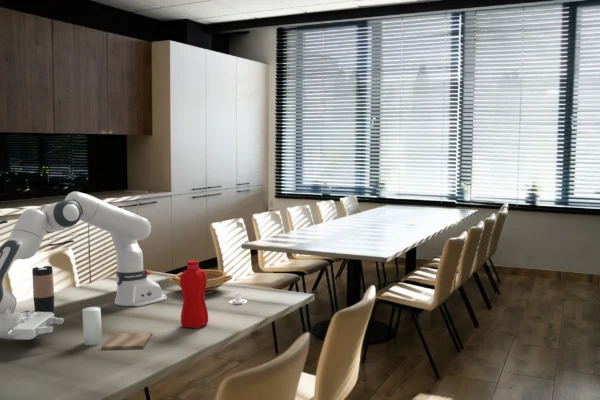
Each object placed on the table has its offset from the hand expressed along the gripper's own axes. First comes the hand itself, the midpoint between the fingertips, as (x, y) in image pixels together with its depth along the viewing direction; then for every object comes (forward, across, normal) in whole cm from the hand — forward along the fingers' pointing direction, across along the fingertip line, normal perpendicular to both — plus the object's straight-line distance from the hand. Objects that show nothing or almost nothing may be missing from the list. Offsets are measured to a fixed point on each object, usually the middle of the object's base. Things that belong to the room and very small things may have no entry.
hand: (57, 325), depth 207 cm
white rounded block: (+12, 0, +6) cm, 14 cm away
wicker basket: (+40, +71, +7) cm, 82 cm away
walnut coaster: (+24, 0, +6) cm, 25 cm away
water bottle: (+45, +19, +7) cm, 49 cm away
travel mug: (-18, +34, +7) cm, 39 cm away
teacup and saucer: (+56, +49, +7) cm, 75 cm away
